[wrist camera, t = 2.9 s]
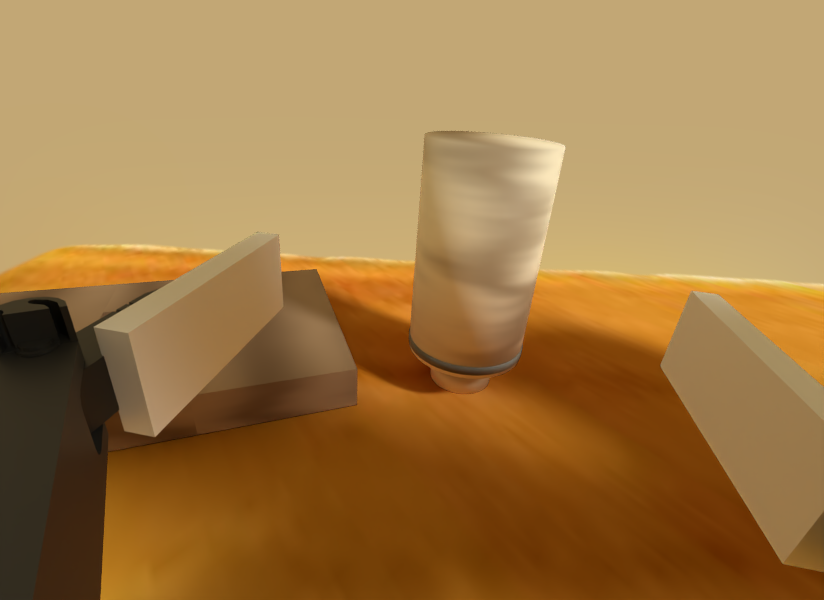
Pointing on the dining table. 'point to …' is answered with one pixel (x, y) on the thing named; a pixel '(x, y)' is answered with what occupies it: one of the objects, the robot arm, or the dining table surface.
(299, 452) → the dining table surface
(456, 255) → the ash leg
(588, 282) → the dining table surface
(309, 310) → the walnut board
